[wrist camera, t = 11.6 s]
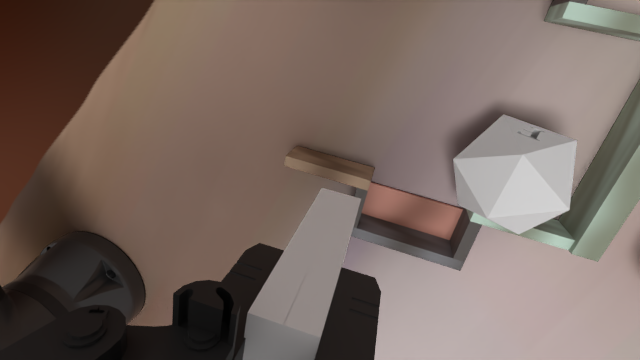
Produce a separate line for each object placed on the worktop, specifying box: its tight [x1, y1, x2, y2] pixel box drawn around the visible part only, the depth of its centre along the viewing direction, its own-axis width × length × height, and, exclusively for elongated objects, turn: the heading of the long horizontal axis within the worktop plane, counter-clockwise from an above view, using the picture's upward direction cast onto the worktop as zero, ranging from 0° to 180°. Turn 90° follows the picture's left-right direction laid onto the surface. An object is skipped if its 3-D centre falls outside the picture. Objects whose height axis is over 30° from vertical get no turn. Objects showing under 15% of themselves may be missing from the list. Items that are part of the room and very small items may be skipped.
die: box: [453, 114, 577, 234], centre depth 27 cm, size 8×9×10 cm
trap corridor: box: [284, 0, 640, 271], centre depth 28 cm, size 27×27×4 cm
